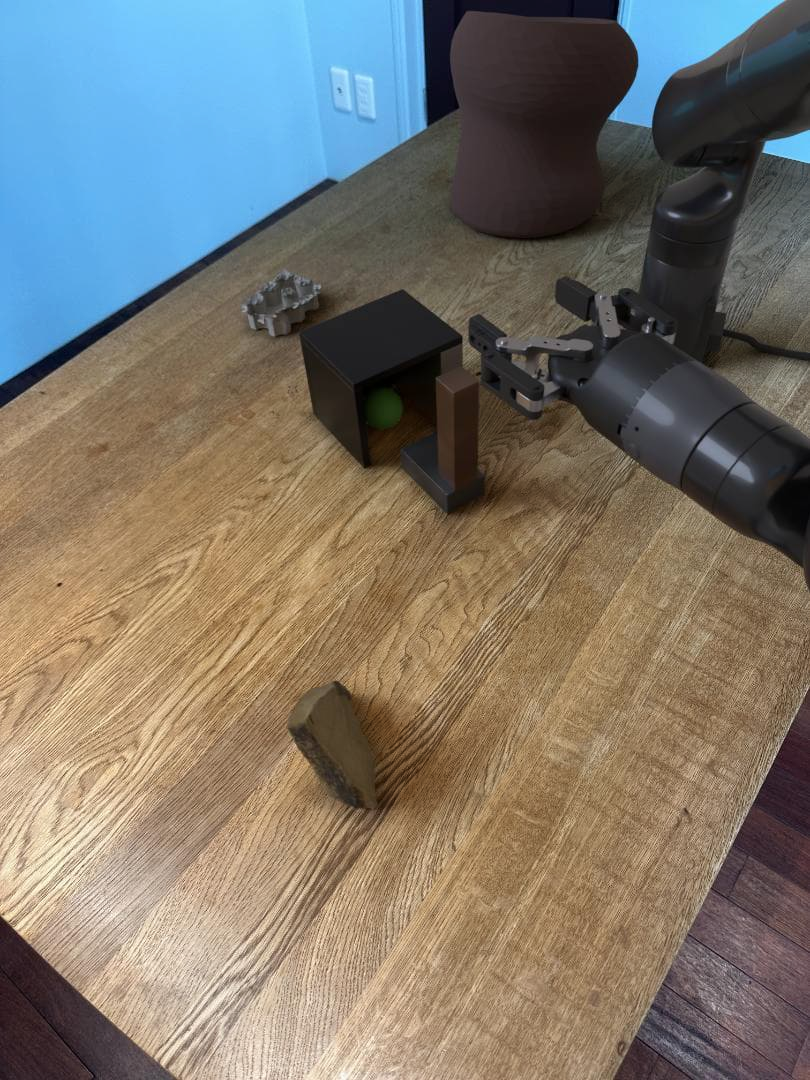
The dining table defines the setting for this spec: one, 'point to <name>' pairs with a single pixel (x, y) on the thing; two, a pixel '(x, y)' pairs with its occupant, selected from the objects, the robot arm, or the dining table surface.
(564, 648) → the dining table surface
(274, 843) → the dining table surface
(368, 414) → the ball
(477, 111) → the vase
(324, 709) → the rock
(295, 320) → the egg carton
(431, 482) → the post on dark base
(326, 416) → the black open box
